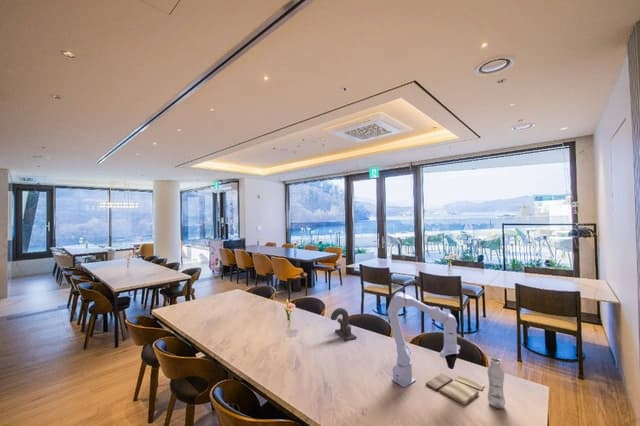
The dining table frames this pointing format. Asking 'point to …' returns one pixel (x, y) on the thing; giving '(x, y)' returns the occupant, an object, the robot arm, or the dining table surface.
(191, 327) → the dining table surface
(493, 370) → the plastic bottle
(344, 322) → the faucet
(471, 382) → the plank
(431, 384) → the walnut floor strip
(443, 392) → the oak plank
